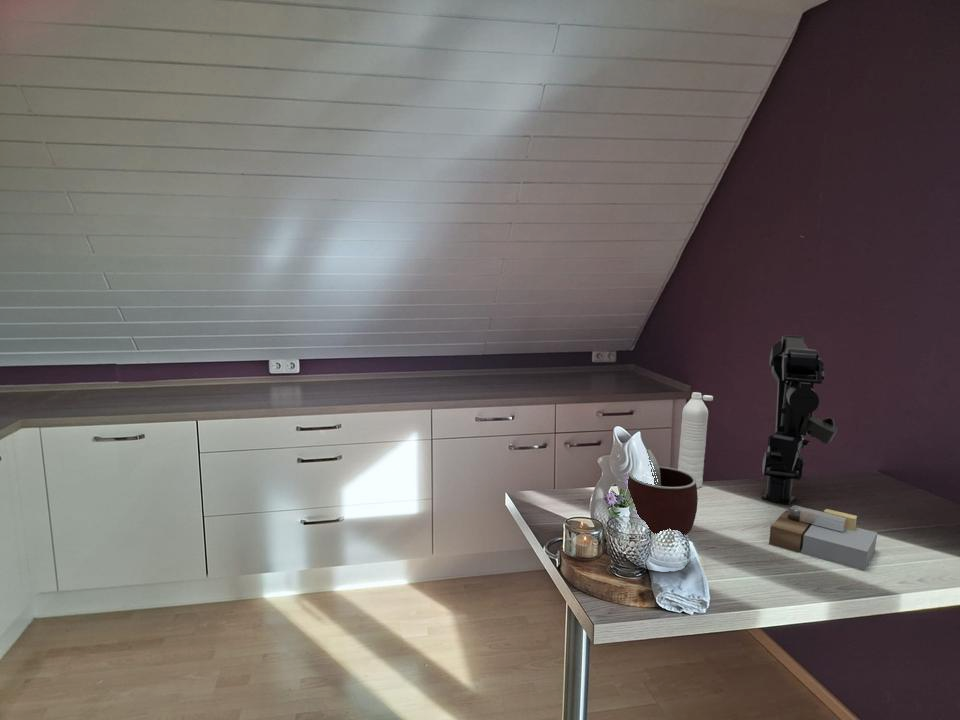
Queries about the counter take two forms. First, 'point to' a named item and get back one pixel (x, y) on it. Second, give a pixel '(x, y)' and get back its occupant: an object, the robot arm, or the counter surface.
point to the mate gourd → (665, 499)
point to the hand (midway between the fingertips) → (789, 470)
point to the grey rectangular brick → (841, 543)
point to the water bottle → (694, 437)
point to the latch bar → (817, 518)
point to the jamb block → (788, 533)
